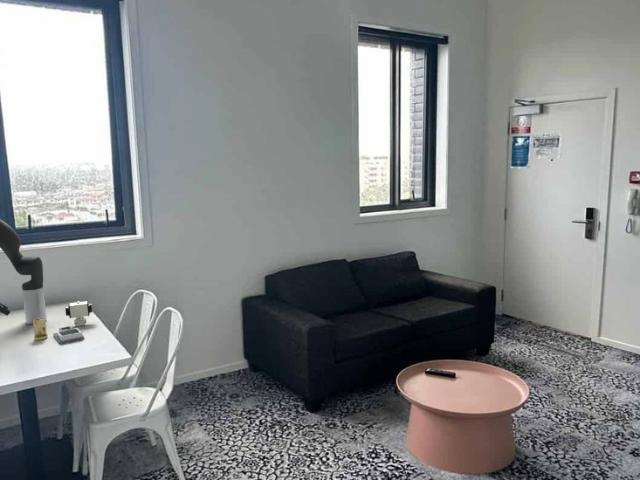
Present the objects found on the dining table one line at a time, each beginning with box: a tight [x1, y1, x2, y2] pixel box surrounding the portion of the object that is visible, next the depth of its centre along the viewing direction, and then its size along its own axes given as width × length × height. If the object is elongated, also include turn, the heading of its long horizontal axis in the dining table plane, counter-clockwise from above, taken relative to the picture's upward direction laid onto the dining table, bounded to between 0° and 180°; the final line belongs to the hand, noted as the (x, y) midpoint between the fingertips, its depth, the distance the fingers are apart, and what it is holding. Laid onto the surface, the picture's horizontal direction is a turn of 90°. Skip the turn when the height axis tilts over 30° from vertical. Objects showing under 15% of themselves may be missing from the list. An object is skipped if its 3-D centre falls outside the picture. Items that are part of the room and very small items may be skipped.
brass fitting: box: [32, 318, 49, 341], centre depth 237 cm, size 5×5×9 cm
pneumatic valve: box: [64, 300, 93, 327], centre depth 256 cm, size 6×12×12 cm, turn 114°
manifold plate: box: [52, 325, 85, 345], centre depth 237 cm, size 15×10×3 cm, turn 37°
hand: (7, 311), depth 229 cm, fingers open, 8 cm apart
